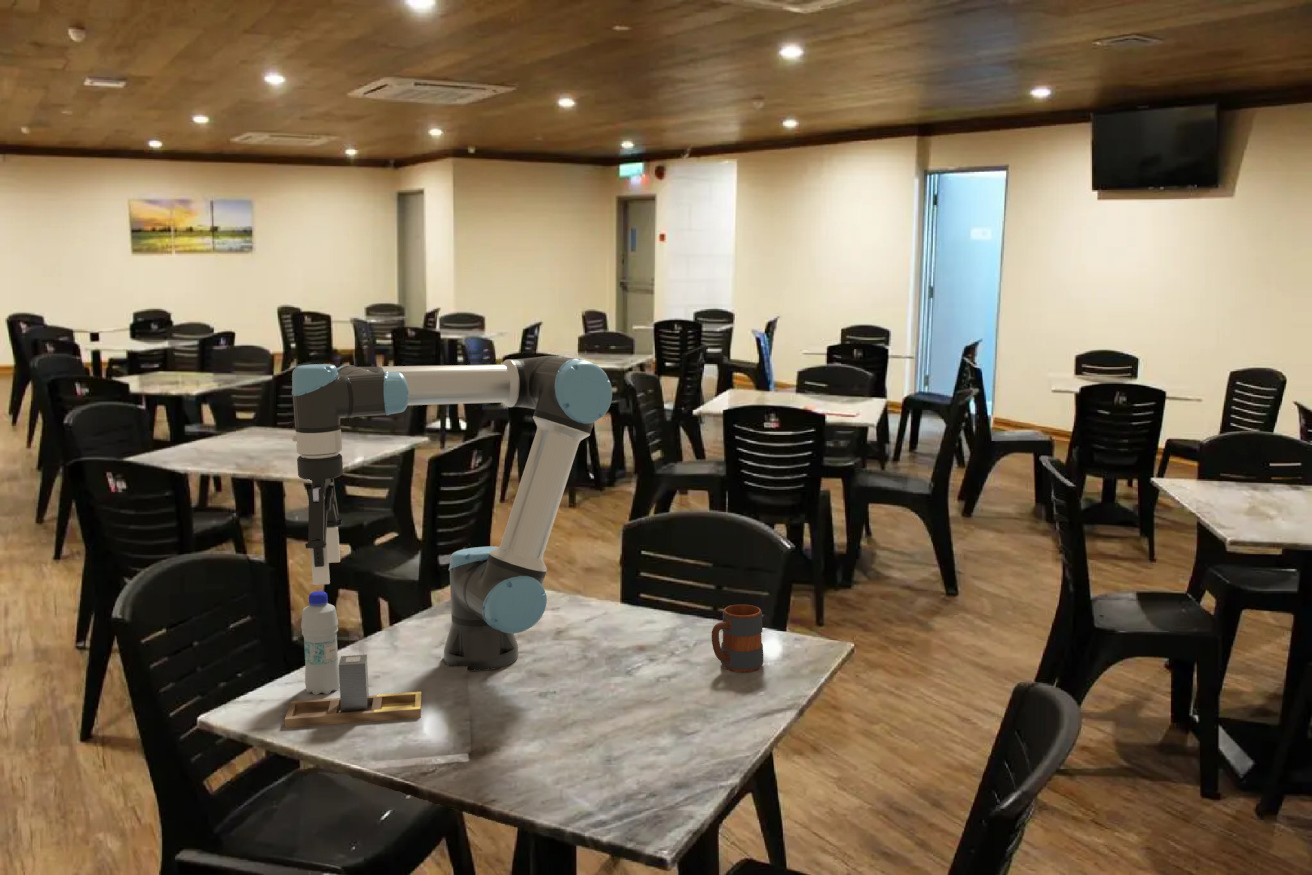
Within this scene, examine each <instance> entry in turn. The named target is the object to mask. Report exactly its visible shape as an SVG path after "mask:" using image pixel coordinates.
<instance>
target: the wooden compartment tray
mask: <svg viewBox="0 0 1312 875" xmlns="http://www.w3.org/2000/svg"><path fill="white" fill-rule="evenodd" d="M422 695H423V694H422V691H411V692H409V691H408V692H395V693H383V694H382V693H381V694H376V695H375V694H374V695H373V694H372V695H369V711H359V712H346V713H341V702H340V697H335V698H333V697H332V698H317V699H306V700H303V699H302V700H292V701H290V704H289V705H288V708H287V712H286V714H285V718H284V727H285V728H298V727H299V728H301V727H312V726H325V725H326V726H327V725H338V724H352V723H353V724H354V723H364V722H379V721H393V720H403V719H404V720H405V719H417V718H418V719H419V718H421V717H422V701H423V700H422V699H423V697H422Z"/></svg>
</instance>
